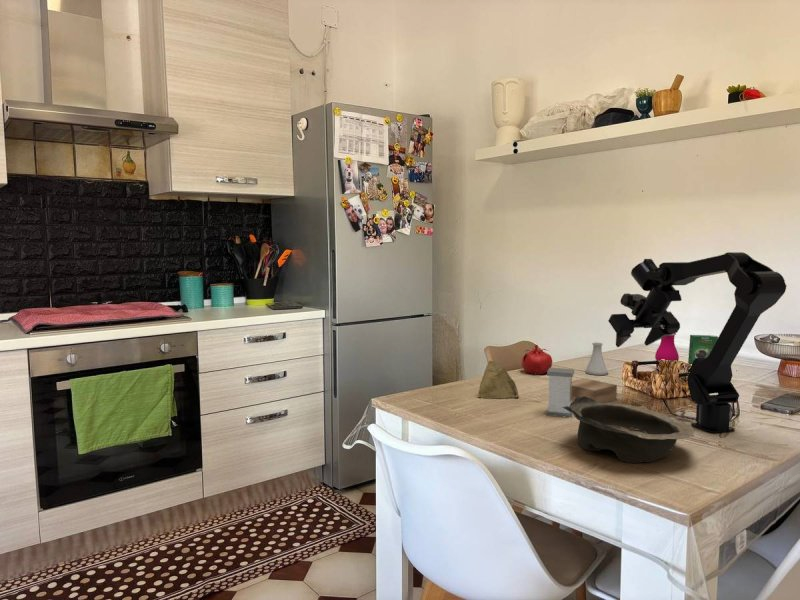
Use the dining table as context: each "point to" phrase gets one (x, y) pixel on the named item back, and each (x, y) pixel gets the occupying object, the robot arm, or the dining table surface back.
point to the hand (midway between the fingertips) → (631, 345)
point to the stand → (594, 390)
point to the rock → (497, 383)
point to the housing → (560, 391)
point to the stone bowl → (627, 430)
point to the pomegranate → (536, 361)
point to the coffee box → (700, 346)
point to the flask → (596, 361)
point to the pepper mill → (667, 348)
